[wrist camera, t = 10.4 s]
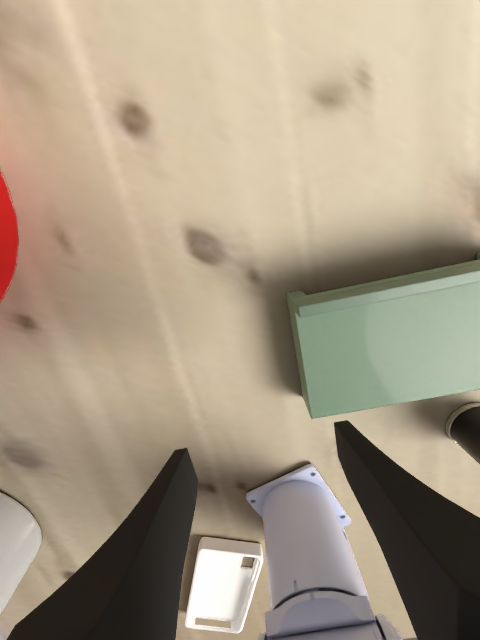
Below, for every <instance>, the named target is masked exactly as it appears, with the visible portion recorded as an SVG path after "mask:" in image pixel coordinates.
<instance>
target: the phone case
mask: <svg viewBox="0 0 480 640" xmlns="http://www.w3.org/2000/svg"><path fill="white" fill-rule="evenodd" d="M243 556H246V557H254V558H255V559H254V563H253V566H252V568H251V567H243V566H241V563H242V560H243ZM262 563H263V552H262V545H261V544H259V543H251V542H243V541H235V540H227V539H219V538H211V537H202V538H201V540H200V542H199V546H198V552H197V557H196V563H195V568H194V573H193V579H192V584H191V589H190V595H189V600H188V605H187V611H186V618H185V626H186V627H187V628H194V629H203V630H212V631H221V632H231V633H239V632H241V631H242V628H243V625H244V622H245V619H246V615H247V612H248V609H249V606H250V602H251V599H252V596H253V593H254V589H255V586H256V583H257V580H258V576H259V573H260V570H261V567H262ZM196 618H202V619H211V620H220V621H229V622H231V628H222V627H213V626H204V625H195V619H196Z"/></svg>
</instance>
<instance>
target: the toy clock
mask: <svg viewBox="0 0 480 640" xmlns="http://www.w3.org/2000/svg"><path fill="white" fill-rule="evenodd" d="M18 244H19V239H18V229H17V219H16V214H15V210H14V206H13V202H12V198H11V195H10V191H9V188H8V186H7V184H6V181H5V179H4V177H3V174H2V172H1V169H0V302H1V300H2V299H3V298H4V296H5V294H6V292H7V290H8V288H9V286H10V285H11V283H12V279H13V276H14V272H15V269H16V265H17V257H18Z"/></svg>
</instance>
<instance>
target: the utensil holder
mask: <svg viewBox="0 0 480 640" xmlns="http://www.w3.org/2000/svg"><path fill="white" fill-rule="evenodd" d="M41 542H42V534H41V529H40V527H39V525H38V523H37V521H36V520H35V518H34V517H33V516H32V514H31V513H30V512H29V511H28V510H27V509H26V508H25V507H24V506H22V505H21V504H20V503H19V502H17V501H16V500H14V499H12V498H11V497H9V496H7V495H5V494H3V493H1V492H0V614H1V612H2V611H3V609H4V607H5V606H6V604H7V602H8V601H9V599H10V597H11V596H12V594H13V592H14V591H15V589H16V587H17V586H18V584H19V582H20V581H21V579H22V577H23V576H24V574H25V572H26V571H27V569H28V567H29V566H30V564H31V562H32V561H33V559H34V557H35V556H36V554H37V552H38V550H39V548H40V545H41Z"/></svg>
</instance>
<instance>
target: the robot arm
mask: <svg viewBox="0 0 480 640" xmlns="http://www.w3.org/2000/svg"><path fill="white" fill-rule="evenodd" d="M334 427H335V435H336V443H337V452H338V457H339V460H340V463H341V465H342V468H343V471H344V473H345V476H346V478H347V480H348V482H349V485H350V487H351V489H352V491H353V493H354V495H355V496H356V498H357V500H358V502H359V504H360V506H361V508H362V510H363V512H364V514H365V516H366V518H367V520H368V522H369V524H370V526H371V528H372V530H373V532H374V534H375V536H376V538H377V541H378V543H379V545H380V547H381V549H382V552H383V554H384V557H385V559H386V561H387V564H388V566H389V569H390V571H391V573H392V576H393V578H394V581H395V583H396V586H397V588H398V591H399V593H400V596H401V598H402V600H403V603H404V605H405V608H406V610H407V613H408V615H409V618H410V621H411V623H412V626H413V628H414V631H415V633H416V636H417V638H418V640H480V518H479V517H477V516H475V515H474V514H472V513H470V512H469V511H467V510H465V509H464V508H462V507H460V506H458V505H457V504H455V503H453V502H452V501H450V500H448V499H447V498H445V497H443V496H442V495H440V494H439V493H437V492H436V491H434V490H433V489H431V488H430V487H428V486H427V485H425V484H424V483H422V482H421V481H419V480H418V479H416V478H415V477H414V476H412V475H411V474H410V473H408V472H407V471H406V470H404V469H403V468H402V467H400V466H399V465H398V464H396V463H395V462H394V461H393V460H391V459H390V458H389V457H388V456H386V455H385V454H384V453H383V452H382V451H381V450H379V449H378V448H377V447H376V446H375V445H373V444H372V443H371V442H370V441H369V440H368V439H367V438H366V437H365V436H363V435H362V434H361V433H360V432H359V431H358V430H357V429H356V428H355V427H354V426H353V425H352V424H351V423H350V422H349V421H347V420H346V421H340V422H335V423H334ZM312 472H313V473H312ZM197 484H198V478H197V475H196V473H195V470H194V467H193V464H192V461H191V458H190V455H189V452H188V450H187V448H184V449H178V450H175V451H174V452H173V454H172V455H171V457H170V458H169V460H168V461H167V463H166V464H165V466H164V467H163V468H162V470H161V471H160V473H159V474H158V476H157V477H156V479H155V480H154V482H153V483H152V484H151V486H150V487H149V489H148V490H147V492H146V493H145V494H144V496H143V497H142V498H141V500H140V501H139V502H138V504H137V505H136V506H135V508H134V509H133V510H132V512H131V513H130V514H129V515H128V517H127V518H126V519H125V520H124V521H123V523H122V524H121V525H120V526H119V527H118V528H117V530H116V531H115V532H114V533H113V534H112V535H111V536H110V538H109V539H108V540H107V541H106V542H105V543H104V544H103V545H102V546H101V547H100V548H99V549H98V550H97V551H96V552H95V553H94V554H93V556H92V557H91V558H90V559H89V560H88V561H87V562H86V563H85V564H84V565H83V566H82V567H81V568H80V569H79V570H78V571H77V572H76V573H74V574H73V575H72V576H71V577H70V578H69V579H68V580H67V581H66V582H65V583H64V584H63V585H62V586H61V587H60V588H58V589H57V590H56V591H55V592H54V593H53V594H52V595H51V596H49V597H48V598H47V599H46V600H45V601H44V602H42V603H41V604H40V605H39V606H38V607H37V608H35V609H34V610H33V611H32V612H31V613H30V614H28V615H27V616H26V617H25V618H24V619H22V620H21V621H20V622H19V623H18V624H16V625H15V627H14V628H13V630H12V632H11V633H10V635H9V637H8V638H7V640H175V638H176V628H177V618H178V608H179V599H180V590H181V582H182V574H183V568H184V562H185V556H186V551H187V546H188V541H189V536H190V531H191V526H192V521H193V516H194V510H195V505H196V496H197ZM246 500H247V501H248V502H249V503H250V504H251V506H252V507H253V508H254V509H255V510H256V512H257V513H258V514H259V515H260V516H261V518H262V519H263V523H264V535H265V548H266V560H267V573H268V585H269V598H270V610H271V611H268V612H266V613H265V620H266V633H260V634H259V635H258V637H257V639H256V640H403V639H402V637H401V635H400V633H399V631H398V630H397V628H396V627H395V626H394V625H393V624H392V623H391V622H390V621H388V620H387V618H386V617H385V616H384V615H383V614H379V615H375V617H374V615H373V612H372V609H371V606H370V603H369V597H368V593H367V590H366V587H365V585H364V582H363V579H362V576H361V574H360V571H359V568H358V565H357V562H356V560H355V557H354V554H353V551H352V549H351V546H350V543H349V540H348V537H347V535H346V532H345V529H344V527H345V526H347V525H349V524H350V523H351V520H350V517H349V516H348V514H347V513H346V511H345V510H344V508H343V507H342V506H341V504H340V503H339V501H338V500H337V498H336V497H335V495H334V494H333V493H332V491H331V490H330V488H329V487H328V485H327V484H326V482H325V481H324V480H323V478H322V477H321V475H320V474H319V472H318V471H317V469H316V468H315V467H314V465H312V464H308V465H306V466H303V467H301V468H299V469H297V470H295V471H293V472H291V473H288V474H286V475H284V476H282V477H280V478H278V479H275V480H273V481H271V482H269V483H267V484H265V485H263V486H260V487H258V488H256V489H254V490H252V491H250V492H248V493H247V494H246ZM375 619H376V620H375Z"/></svg>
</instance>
